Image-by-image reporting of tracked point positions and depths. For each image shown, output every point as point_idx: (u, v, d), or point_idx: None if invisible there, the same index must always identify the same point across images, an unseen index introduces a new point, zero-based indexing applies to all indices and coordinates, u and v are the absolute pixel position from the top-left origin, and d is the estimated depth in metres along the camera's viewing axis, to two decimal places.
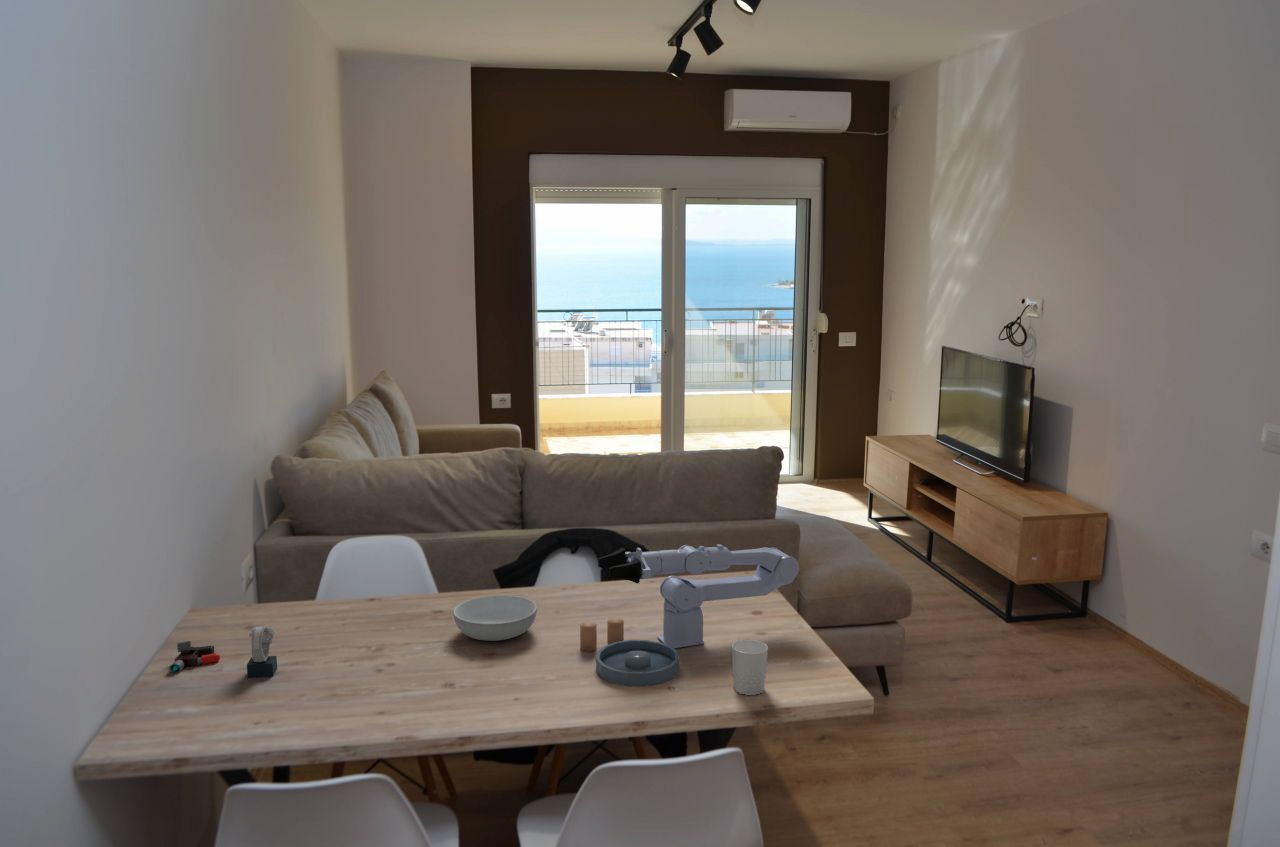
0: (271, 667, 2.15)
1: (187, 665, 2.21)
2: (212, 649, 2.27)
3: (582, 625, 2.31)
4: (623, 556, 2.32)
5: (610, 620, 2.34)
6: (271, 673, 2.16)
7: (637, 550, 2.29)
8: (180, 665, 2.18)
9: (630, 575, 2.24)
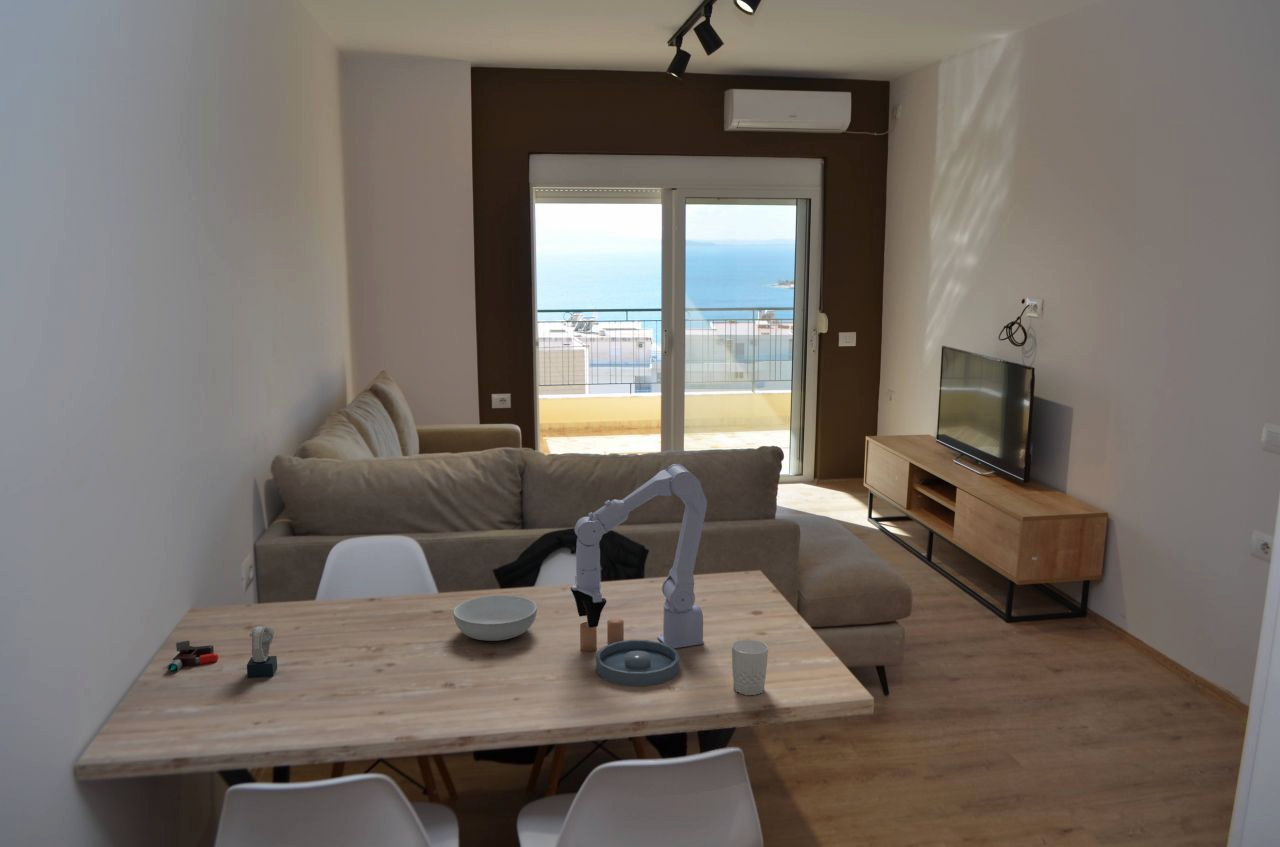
0: (271, 667, 2.15)
1: (185, 665, 2.21)
2: (211, 649, 2.27)
3: (582, 625, 2.31)
4: (579, 591, 2.33)
5: (610, 620, 2.34)
6: (271, 673, 2.16)
7: None
8: (178, 665, 2.18)
9: (597, 606, 2.27)
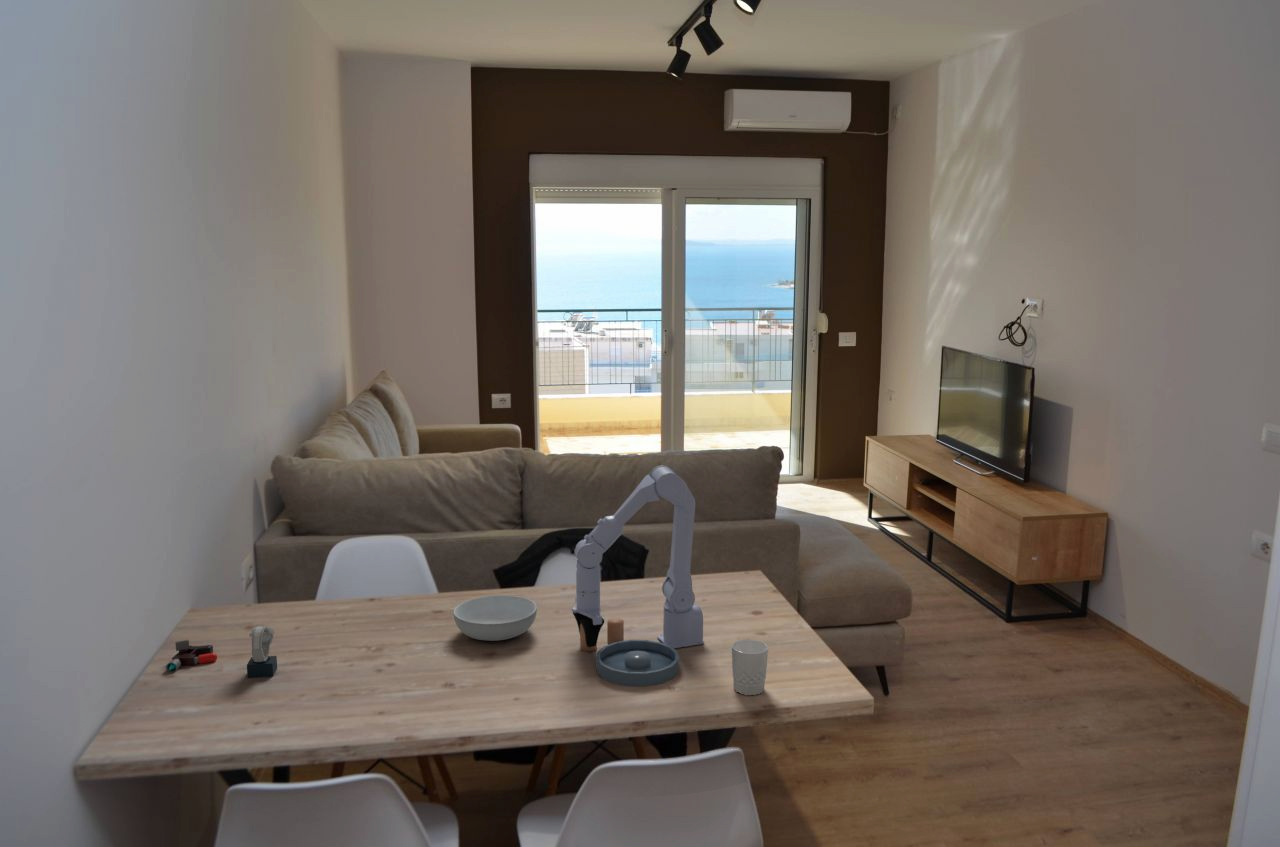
0: (271, 667, 2.15)
1: (184, 664, 2.21)
2: (210, 648, 2.28)
3: None
4: (581, 615, 2.33)
5: (610, 620, 2.34)
6: (271, 673, 2.16)
7: None
8: (176, 664, 2.18)
9: (596, 626, 2.29)
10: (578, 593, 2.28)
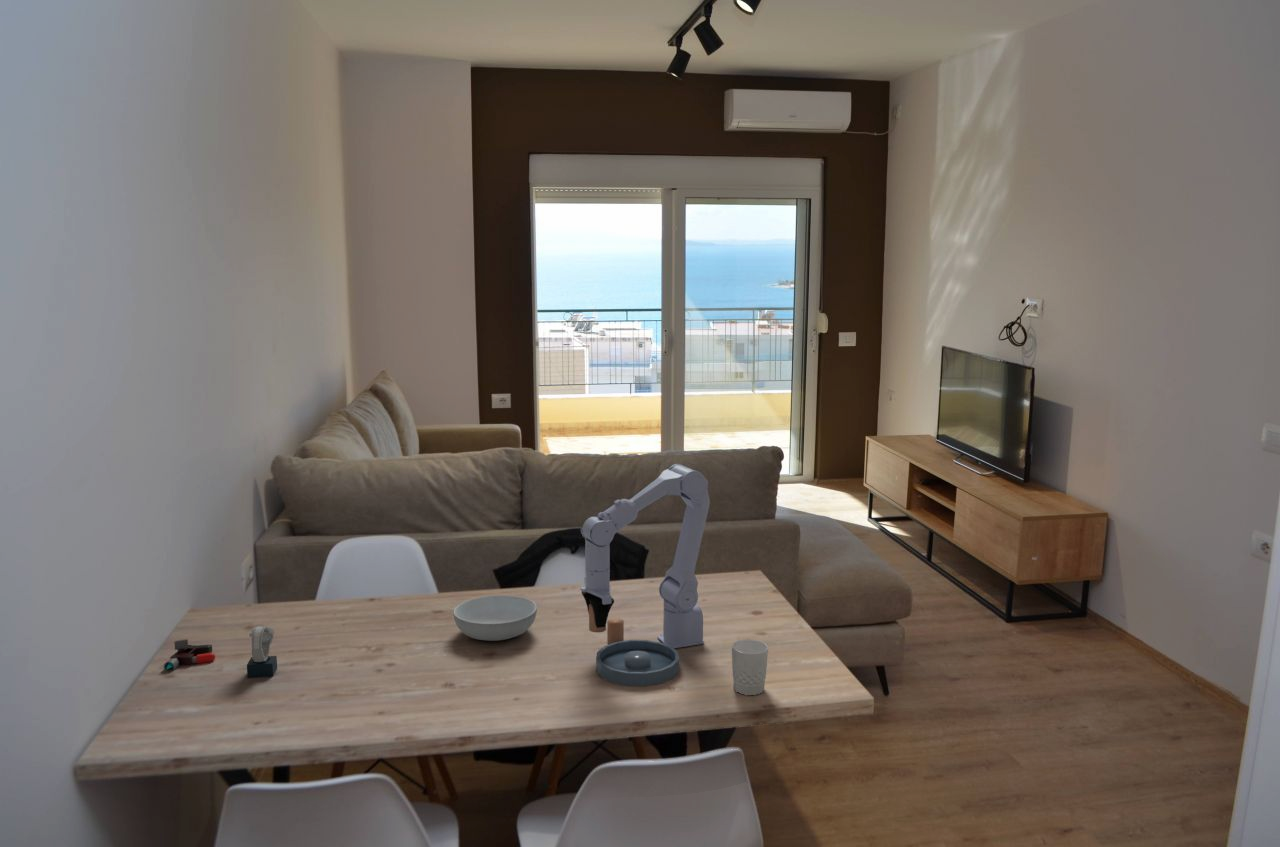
0: (271, 667, 2.15)
1: (182, 663, 2.21)
2: (209, 648, 2.28)
3: None
4: (590, 595, 2.26)
5: (610, 620, 2.34)
6: (271, 673, 2.16)
7: None
8: (174, 663, 2.19)
9: (605, 606, 2.23)
10: (587, 572, 2.22)
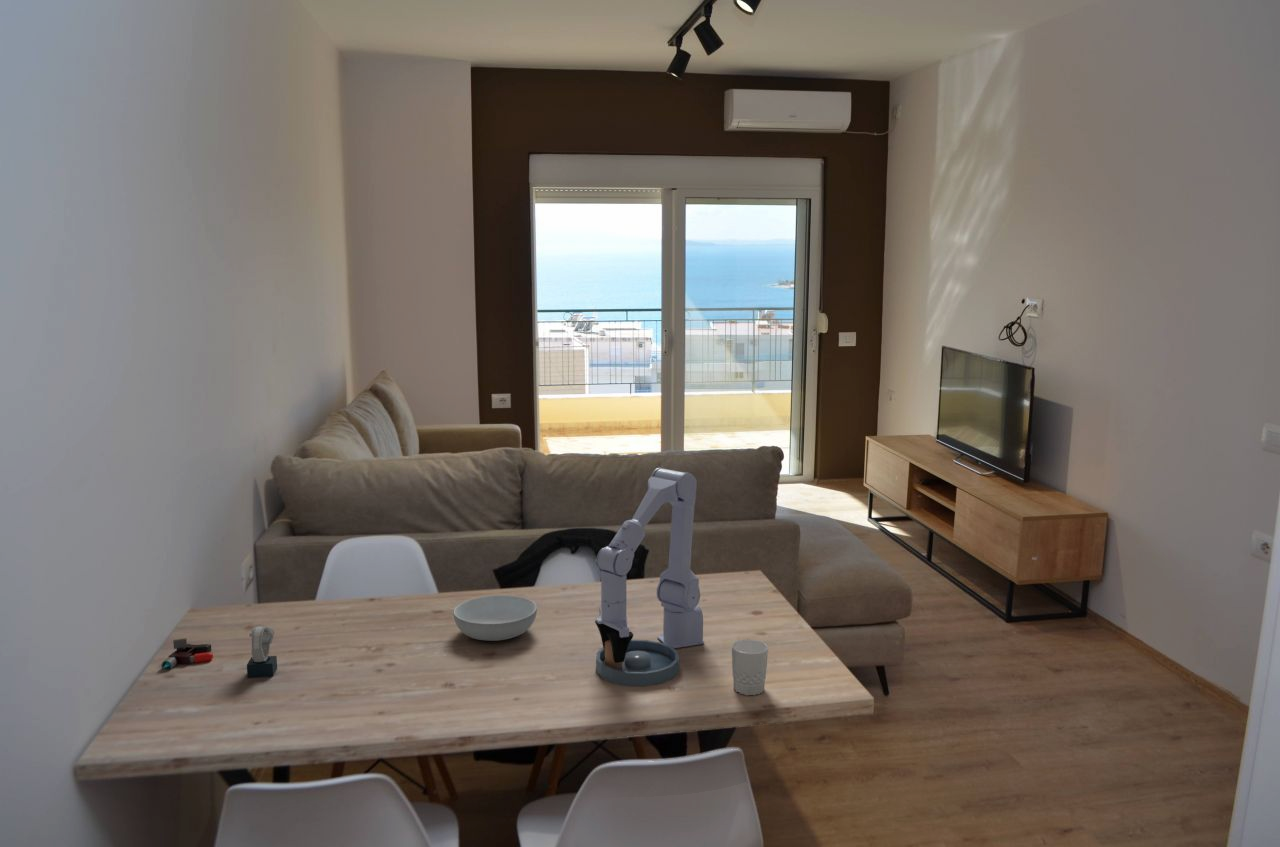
0: (271, 667, 2.15)
1: (180, 662, 2.22)
2: (208, 647, 2.28)
3: (607, 643, 2.17)
4: (604, 625, 2.20)
5: None
6: (271, 673, 2.16)
7: None
8: (171, 662, 2.19)
9: (624, 640, 2.14)
10: (603, 603, 2.14)
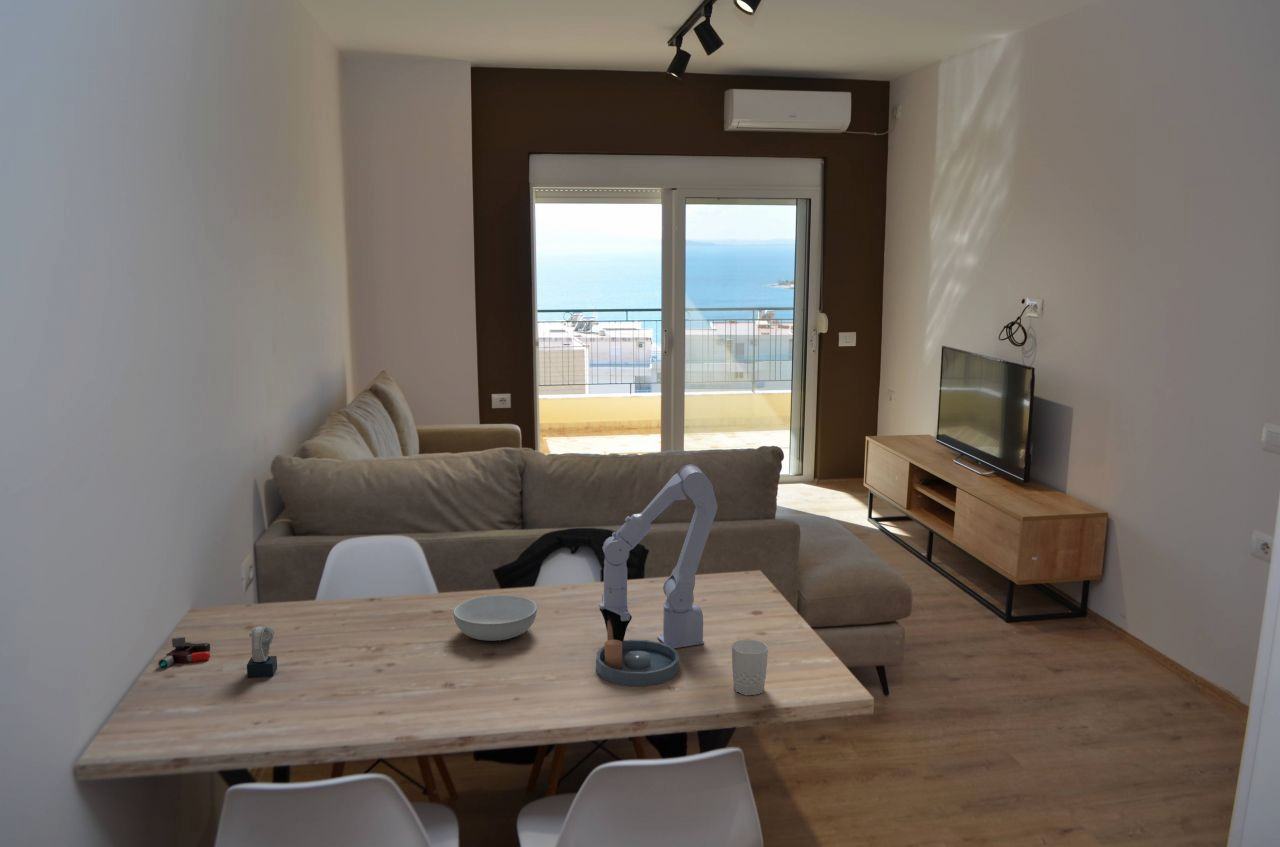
0: (271, 667, 2.15)
1: (177, 661, 2.23)
2: (207, 647, 2.29)
3: (607, 643, 2.17)
4: (608, 611, 2.35)
5: None
6: (271, 673, 2.16)
7: None
8: (168, 661, 2.20)
9: (623, 622, 2.31)
10: (606, 590, 2.31)
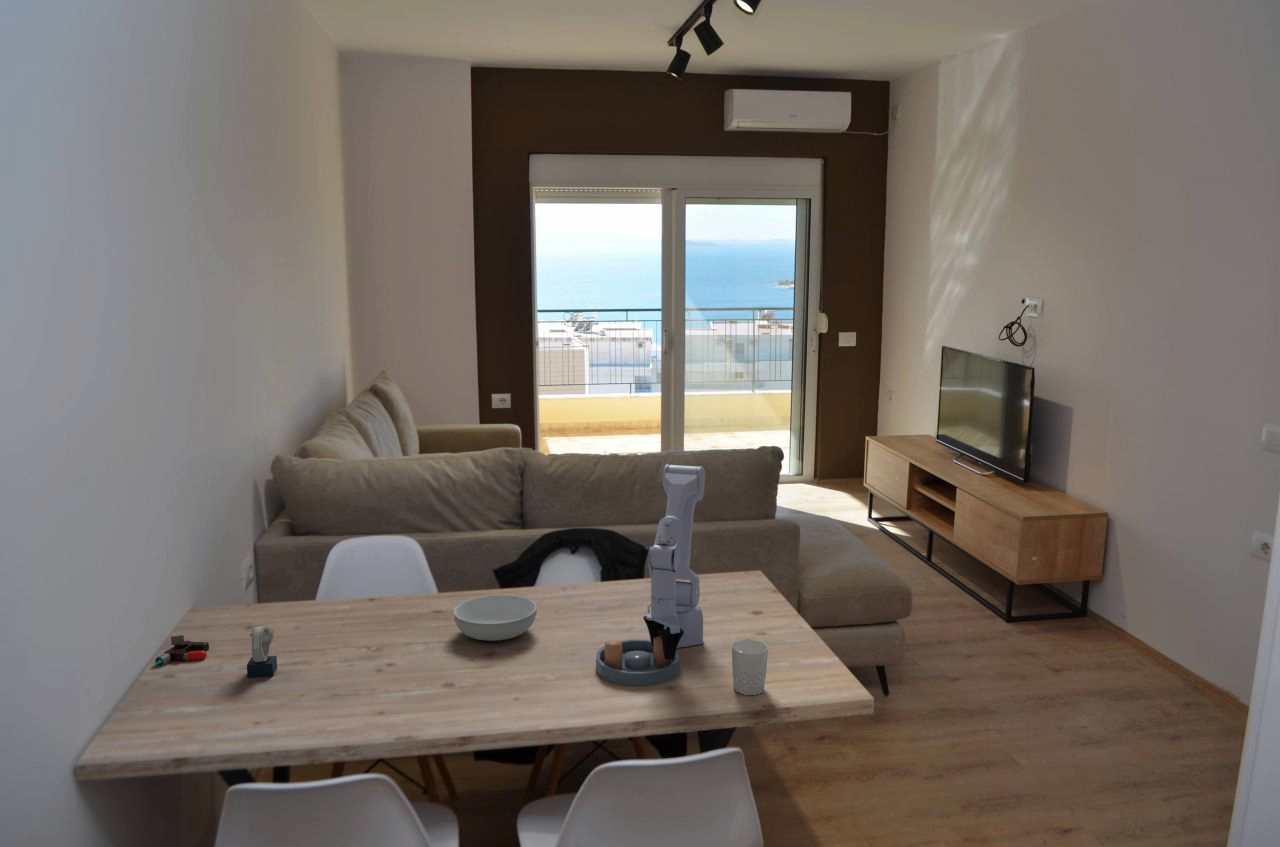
0: (271, 667, 2.15)
1: (174, 659, 2.24)
2: (205, 646, 2.29)
3: (607, 643, 2.17)
4: (652, 621, 2.23)
5: (656, 638, 2.21)
6: (271, 673, 2.16)
7: None
8: (164, 659, 2.21)
9: (674, 637, 2.16)
10: (653, 600, 2.17)
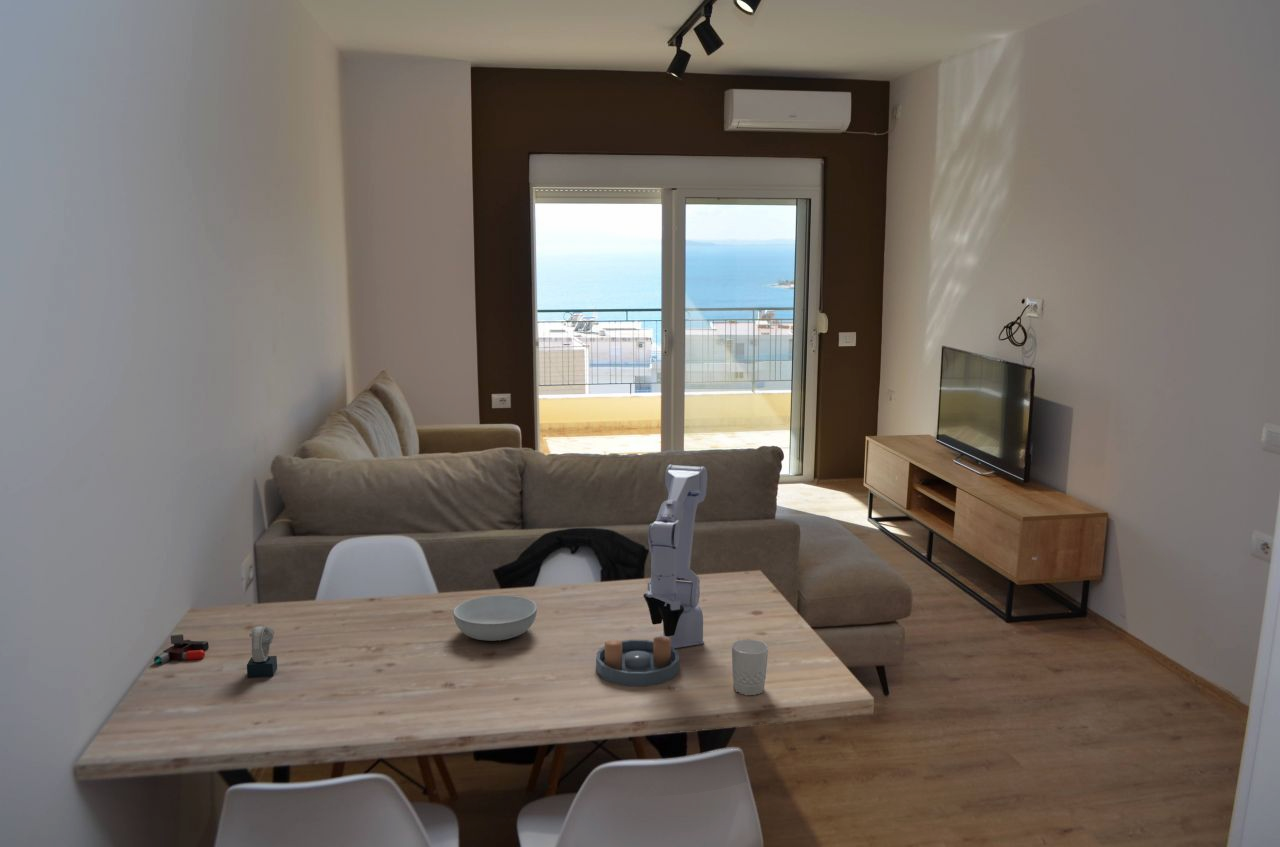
0: (271, 667, 2.15)
1: (173, 658, 2.24)
2: (204, 645, 2.30)
3: (607, 643, 2.17)
4: (652, 598, 2.22)
5: (656, 638, 2.21)
6: (271, 673, 2.16)
7: None
8: (163, 658, 2.22)
9: (674, 614, 2.15)
10: (653, 577, 2.16)
